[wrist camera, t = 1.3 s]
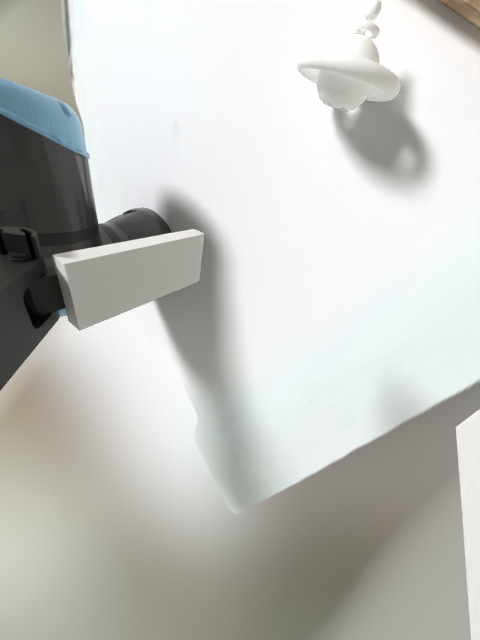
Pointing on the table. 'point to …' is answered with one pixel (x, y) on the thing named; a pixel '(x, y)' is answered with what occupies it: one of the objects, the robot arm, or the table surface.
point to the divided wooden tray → (466, 9)
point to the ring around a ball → (351, 67)
